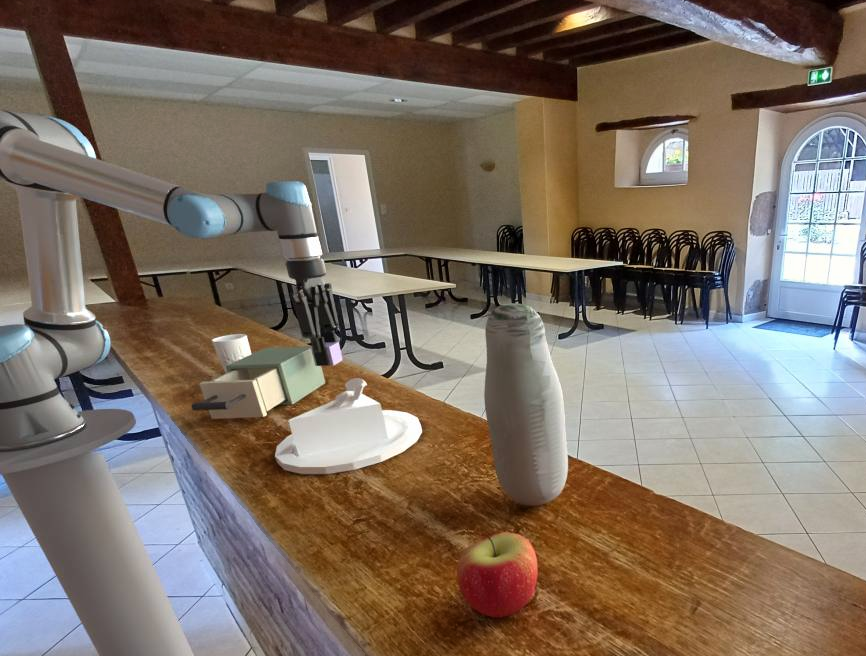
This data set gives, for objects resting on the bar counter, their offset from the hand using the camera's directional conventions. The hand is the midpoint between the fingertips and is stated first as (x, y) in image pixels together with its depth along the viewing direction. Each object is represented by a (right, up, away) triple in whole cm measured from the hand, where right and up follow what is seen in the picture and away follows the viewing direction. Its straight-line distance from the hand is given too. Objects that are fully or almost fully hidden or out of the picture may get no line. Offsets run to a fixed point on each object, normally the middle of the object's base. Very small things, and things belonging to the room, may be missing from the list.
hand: (329, 361), depth 129 cm
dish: (+17, -18, -26) cm, 36 cm away
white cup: (-33, -1, +20) cm, 39 cm away
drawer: (-12, -12, -11) cm, 20 cm away
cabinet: (-11, -8, +2) cm, 14 cm away
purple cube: (0, 0, 0) cm, 0 cm away
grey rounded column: (+54, -25, -49) cm, 77 cm away
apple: (+53, -34, -69) cm, 93 cm away
